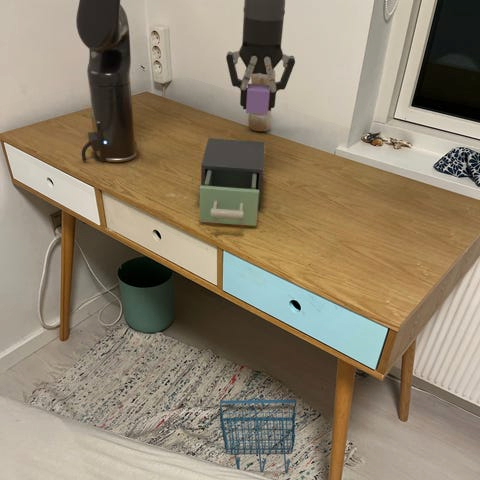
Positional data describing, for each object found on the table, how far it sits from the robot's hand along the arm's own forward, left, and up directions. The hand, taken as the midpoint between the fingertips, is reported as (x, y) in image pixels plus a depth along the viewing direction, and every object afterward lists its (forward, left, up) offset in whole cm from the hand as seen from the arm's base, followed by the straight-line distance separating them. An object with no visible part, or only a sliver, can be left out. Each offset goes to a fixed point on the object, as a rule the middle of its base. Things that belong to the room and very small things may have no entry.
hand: (256, 108), depth 105 cm
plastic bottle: (+17, +31, -18) cm, 40 cm away
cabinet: (-5, -2, -17) cm, 18 cm away
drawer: (-11, -12, -16) cm, 23 cm away
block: (0, 0, 0) cm, 0 cm away
